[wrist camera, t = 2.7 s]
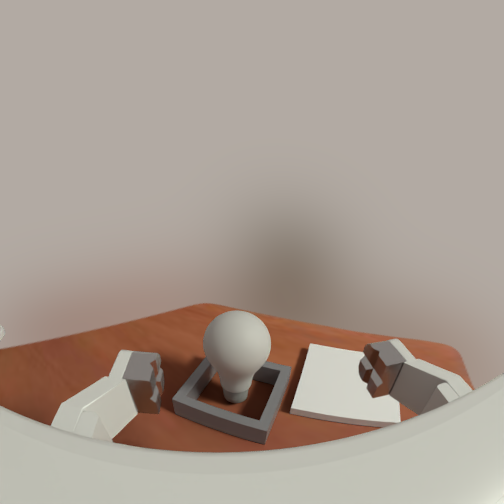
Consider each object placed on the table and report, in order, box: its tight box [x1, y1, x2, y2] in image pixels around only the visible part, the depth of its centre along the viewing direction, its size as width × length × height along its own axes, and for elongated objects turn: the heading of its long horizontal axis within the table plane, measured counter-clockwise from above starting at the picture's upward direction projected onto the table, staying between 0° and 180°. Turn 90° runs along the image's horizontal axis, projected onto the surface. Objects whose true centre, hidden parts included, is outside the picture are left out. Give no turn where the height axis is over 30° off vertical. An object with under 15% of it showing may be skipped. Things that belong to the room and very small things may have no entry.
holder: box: [172, 357, 291, 445], centre depth 26 cm, size 10×10×2 cm
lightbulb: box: [203, 311, 271, 403], centre depth 25 cm, size 6×6×11 cm
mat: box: [290, 344, 400, 427], centre depth 28 cm, size 12×12×1 cm
